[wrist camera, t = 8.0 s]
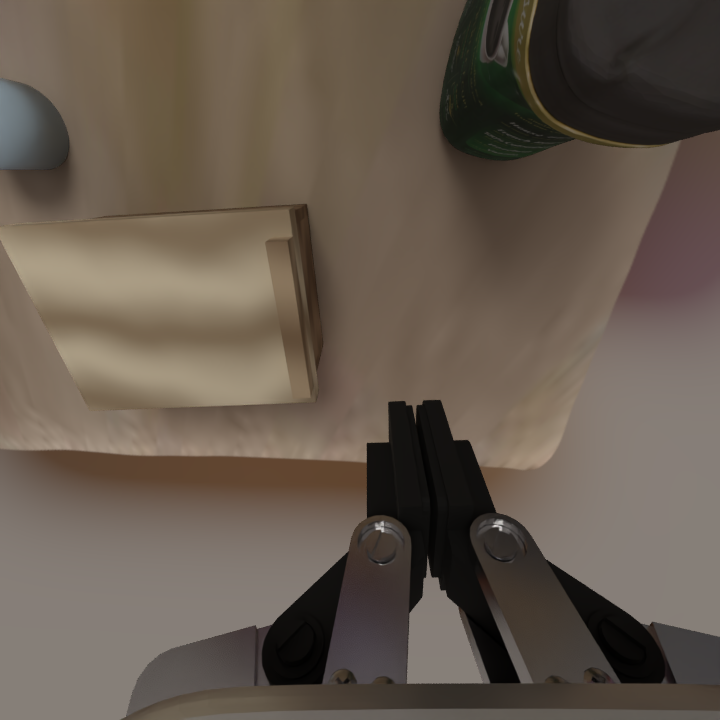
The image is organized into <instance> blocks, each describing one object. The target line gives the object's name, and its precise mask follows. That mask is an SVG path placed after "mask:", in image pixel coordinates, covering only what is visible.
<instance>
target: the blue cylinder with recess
mask: <svg viewBox="0 0 720 720" xmlns="http://www.w3.org/2000/svg"><path fill="white" fill-rule="evenodd" d="M68 150H69V137H68V132H67V129H66V126H65V123H64V121H63V119H62V117H61V115H60V114H59V112H58V111H57V109H56V108H55V106H54V105H53V104H52V103H51V102H50V101H49V100H48V99H47V98H46V97H45V96H44V95H43V94H42V93H40V92H39V91H38V90H36V89H34V88H32V87H30V86H28V85H26V84H23V83H19V82H15V81H11V80H7V79H3V78H0V170H49V169H53V168H56V167H58V166H60V165H61V164H62V163H63V162H64V160H65V159H66V157H67V154H68Z"/></svg>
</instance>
